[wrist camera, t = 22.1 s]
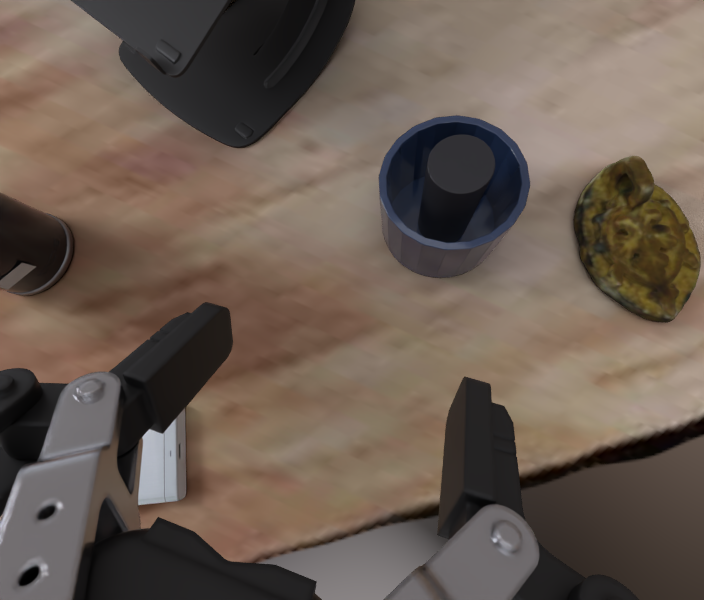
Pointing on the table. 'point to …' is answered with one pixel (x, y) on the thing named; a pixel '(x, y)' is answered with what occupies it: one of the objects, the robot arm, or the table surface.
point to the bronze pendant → (637, 241)
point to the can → (407, 187)
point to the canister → (454, 186)
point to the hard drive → (164, 464)
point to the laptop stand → (225, 56)
